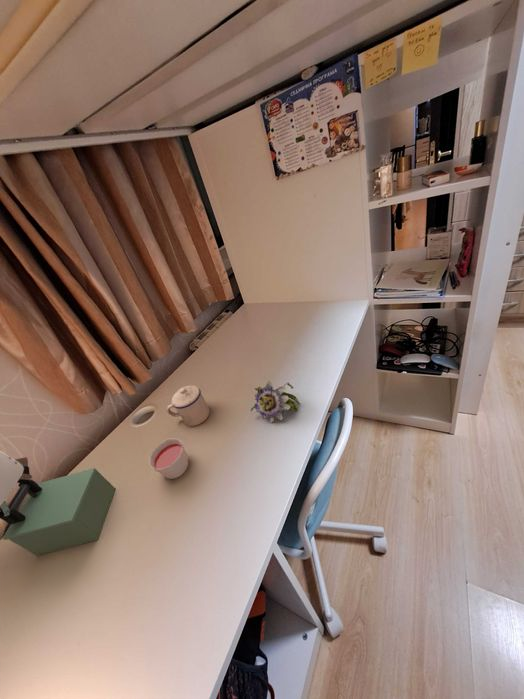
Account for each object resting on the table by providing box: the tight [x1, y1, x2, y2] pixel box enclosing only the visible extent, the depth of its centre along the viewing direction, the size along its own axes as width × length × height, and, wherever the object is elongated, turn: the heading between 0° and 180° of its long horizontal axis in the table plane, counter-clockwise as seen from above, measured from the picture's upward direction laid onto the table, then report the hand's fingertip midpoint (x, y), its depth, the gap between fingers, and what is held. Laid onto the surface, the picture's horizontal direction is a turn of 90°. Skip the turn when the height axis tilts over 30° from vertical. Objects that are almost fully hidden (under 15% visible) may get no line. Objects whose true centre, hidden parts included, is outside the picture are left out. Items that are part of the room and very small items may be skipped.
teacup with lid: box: [166, 384, 211, 427], centre depth 88 cm, size 12×9×12 cm
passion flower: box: [250, 380, 301, 424], centre depth 82 cm, size 11×11×12 cm
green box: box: [8, 469, 116, 556], centre depth 70 cm, size 16×13×9 cm
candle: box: [148, 437, 189, 480], centre depth 75 cm, size 9×9×6 cm
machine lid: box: [1, 467, 97, 541], centre depth 66 cm, size 16×13×5 cm
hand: (27, 505), depth 67 cm, fingers closed on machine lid, 6 cm apart
